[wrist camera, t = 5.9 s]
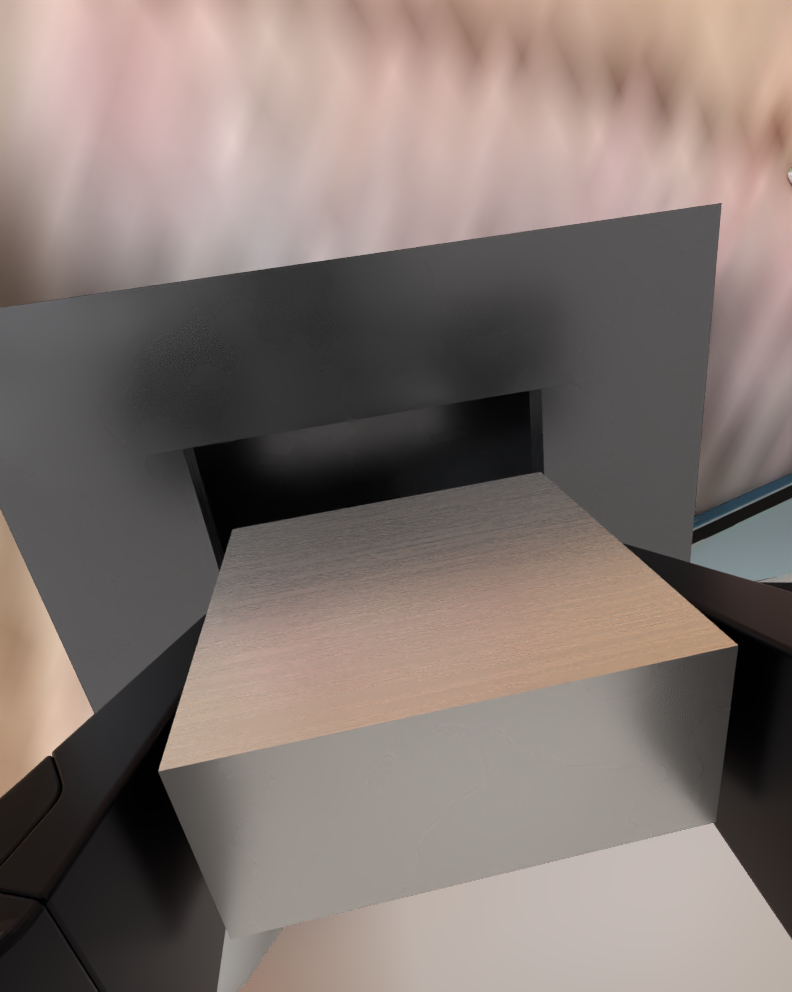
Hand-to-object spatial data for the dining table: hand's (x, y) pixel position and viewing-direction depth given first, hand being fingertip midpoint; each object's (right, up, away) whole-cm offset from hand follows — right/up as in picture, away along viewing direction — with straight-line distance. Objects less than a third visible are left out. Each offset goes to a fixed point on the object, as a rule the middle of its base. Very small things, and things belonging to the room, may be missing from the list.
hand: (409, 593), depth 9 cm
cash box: (-2, +4, +10) cm, 11 cm away
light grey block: (0, 0, +1) cm, 1 cm away
